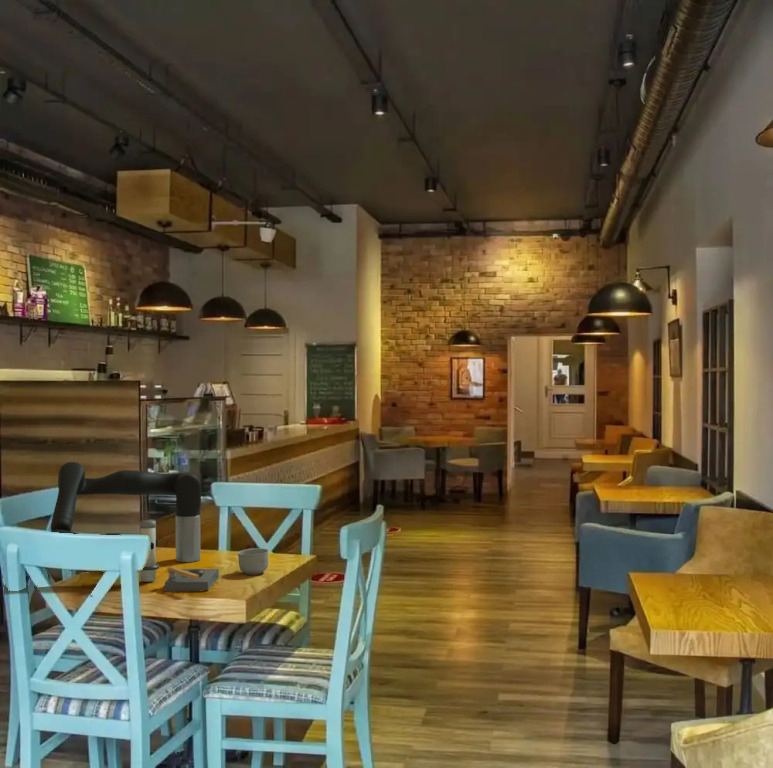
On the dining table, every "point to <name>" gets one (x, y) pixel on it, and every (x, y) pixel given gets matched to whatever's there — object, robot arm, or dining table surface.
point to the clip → (183, 572)
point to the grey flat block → (192, 580)
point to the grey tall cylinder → (150, 568)
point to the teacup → (253, 560)
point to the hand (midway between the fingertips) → (155, 544)
